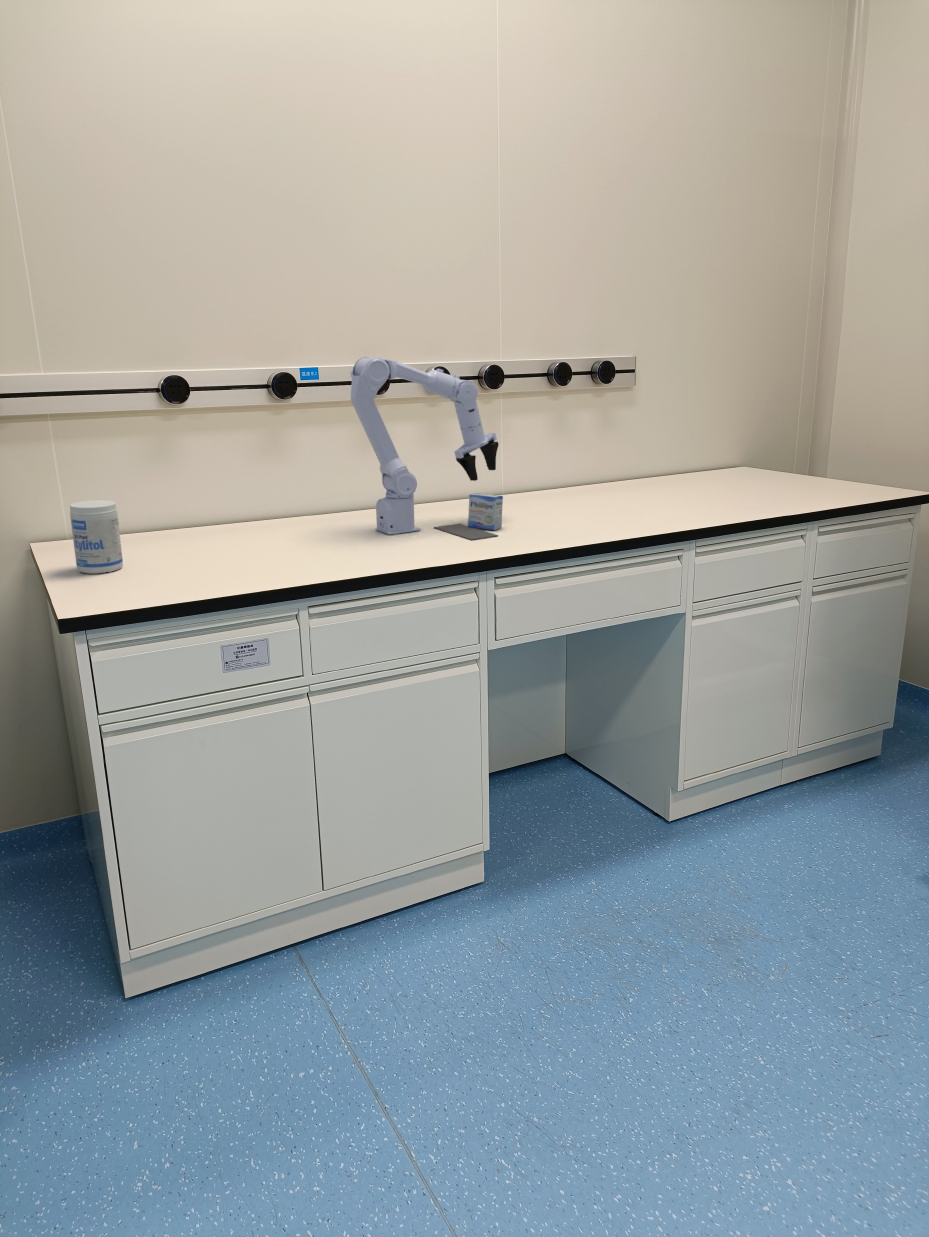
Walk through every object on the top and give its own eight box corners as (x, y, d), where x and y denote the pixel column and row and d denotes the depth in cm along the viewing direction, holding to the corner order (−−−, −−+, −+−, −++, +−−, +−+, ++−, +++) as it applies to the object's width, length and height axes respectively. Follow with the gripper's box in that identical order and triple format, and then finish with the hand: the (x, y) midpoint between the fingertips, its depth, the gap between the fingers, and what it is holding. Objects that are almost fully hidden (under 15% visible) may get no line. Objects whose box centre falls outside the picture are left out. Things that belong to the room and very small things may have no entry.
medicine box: (467, 527, 234) (468, 494, 232) (475, 524, 238) (476, 492, 236) (494, 530, 231) (495, 497, 228) (502, 528, 235) (503, 495, 232)
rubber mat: (471, 540, 221) (471, 539, 221) (433, 528, 235) (433, 527, 235) (498, 536, 225) (498, 535, 225) (459, 524, 239) (459, 523, 239)
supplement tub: (73, 576, 192) (63, 508, 188) (82, 565, 201) (72, 500, 197) (120, 573, 194) (111, 506, 190) (127, 563, 203) (119, 498, 198)
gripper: (463, 434, 227) (476, 484, 232) (499, 416, 235) (511, 465, 241) (444, 435, 232) (457, 484, 237) (480, 417, 240) (492, 465, 246)
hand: (483, 474), depth 239 cm, fingers open, 7 cm apart
